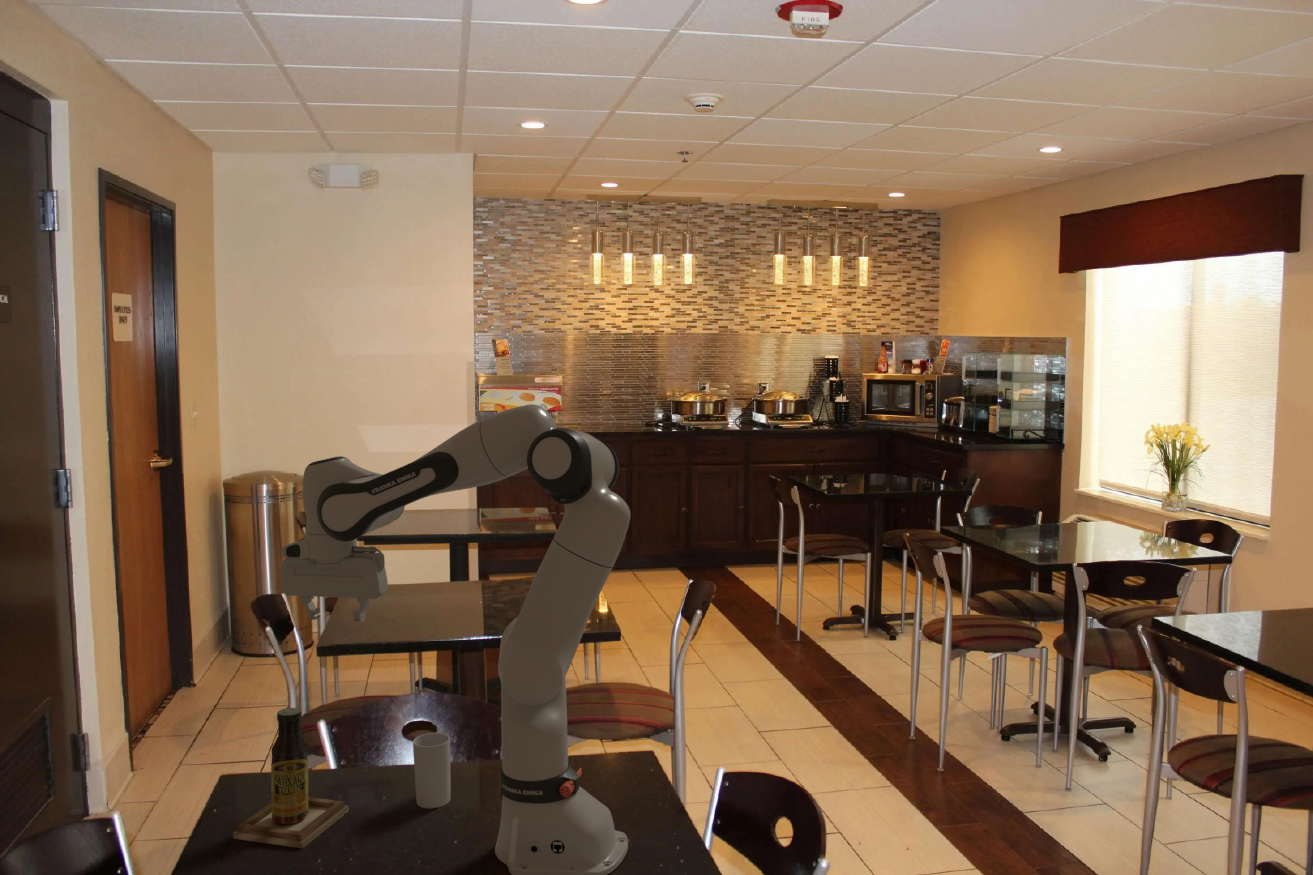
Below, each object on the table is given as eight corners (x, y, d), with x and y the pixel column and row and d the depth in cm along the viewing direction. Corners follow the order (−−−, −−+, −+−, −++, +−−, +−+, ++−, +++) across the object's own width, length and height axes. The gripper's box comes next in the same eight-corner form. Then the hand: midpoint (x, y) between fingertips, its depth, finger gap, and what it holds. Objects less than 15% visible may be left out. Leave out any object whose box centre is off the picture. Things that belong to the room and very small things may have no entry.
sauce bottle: (271, 829, 174) (266, 720, 172) (272, 814, 180) (266, 707, 178) (311, 822, 176) (306, 714, 175) (310, 807, 182) (305, 702, 180)
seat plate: (348, 810, 183) (348, 800, 183) (302, 848, 170) (302, 837, 169) (283, 802, 187) (282, 792, 186) (233, 838, 173) (232, 827, 173)
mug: (446, 809, 183) (444, 746, 182) (410, 809, 183) (408, 746, 182) (459, 785, 193) (457, 725, 192) (425, 785, 193) (423, 725, 192)
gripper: (392, 543, 181) (396, 617, 183) (293, 541, 186) (299, 613, 188) (374, 550, 175) (378, 626, 176) (273, 548, 180) (278, 622, 182)
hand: (336, 619), depth 182 cm, fingers open, 8 cm apart
